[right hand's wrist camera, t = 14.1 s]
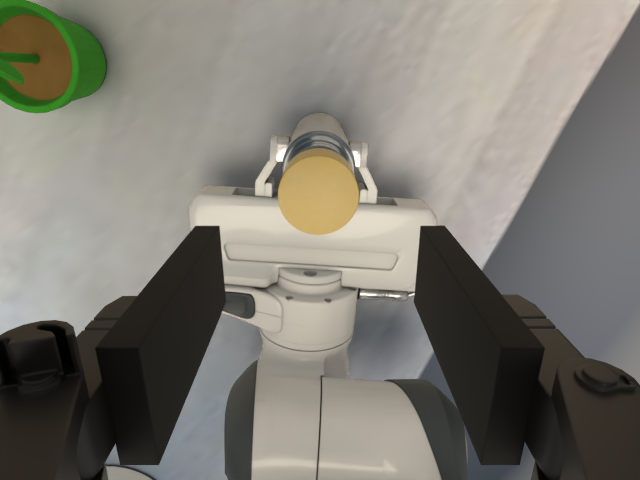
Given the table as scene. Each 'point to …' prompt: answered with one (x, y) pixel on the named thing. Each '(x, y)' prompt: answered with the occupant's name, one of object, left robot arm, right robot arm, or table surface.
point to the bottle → (318, 138)
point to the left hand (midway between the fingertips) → (319, 139)
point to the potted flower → (45, 58)
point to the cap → (318, 192)
